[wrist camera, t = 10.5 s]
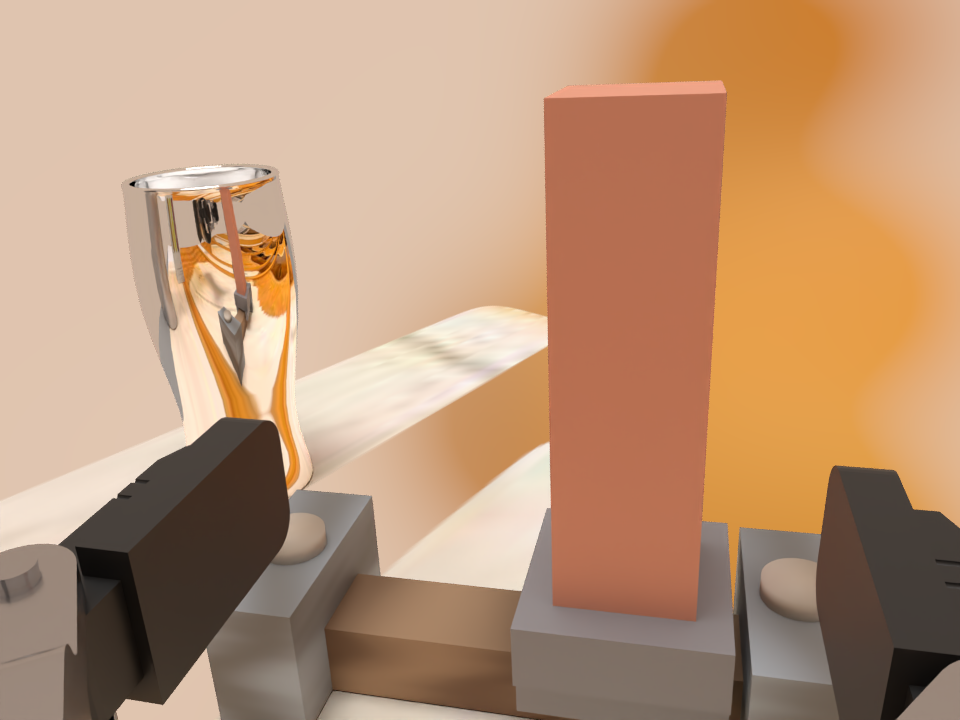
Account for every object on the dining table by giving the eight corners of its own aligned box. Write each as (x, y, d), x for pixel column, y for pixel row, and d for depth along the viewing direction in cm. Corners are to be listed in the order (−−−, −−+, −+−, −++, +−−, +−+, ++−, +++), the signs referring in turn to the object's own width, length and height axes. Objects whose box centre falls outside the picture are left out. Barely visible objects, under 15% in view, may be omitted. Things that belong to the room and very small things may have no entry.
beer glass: (350, 469, 42) (316, 167, 37) (239, 534, 37) (180, 195, 32) (260, 436, 46) (217, 159, 41) (148, 491, 41) (82, 183, 36)
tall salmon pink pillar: (513, 720, 25) (489, 104, 18) (548, 587, 30) (538, 83, 24) (727, 751, 23) (781, 96, 17) (721, 605, 29) (759, 76, 23)
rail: (221, 721, 27) (194, 590, 25) (311, 588, 33) (295, 475, 32) (857, 822, 23) (881, 671, 21) (822, 647, 29) (838, 519, 27)
